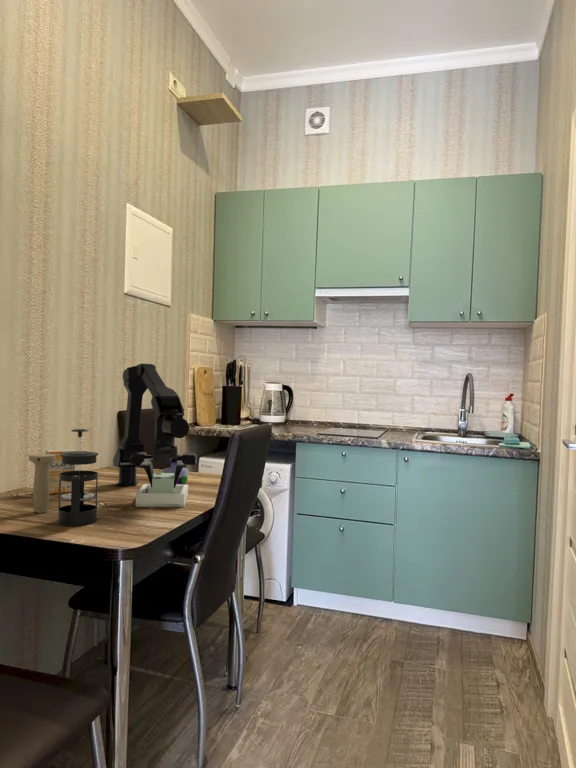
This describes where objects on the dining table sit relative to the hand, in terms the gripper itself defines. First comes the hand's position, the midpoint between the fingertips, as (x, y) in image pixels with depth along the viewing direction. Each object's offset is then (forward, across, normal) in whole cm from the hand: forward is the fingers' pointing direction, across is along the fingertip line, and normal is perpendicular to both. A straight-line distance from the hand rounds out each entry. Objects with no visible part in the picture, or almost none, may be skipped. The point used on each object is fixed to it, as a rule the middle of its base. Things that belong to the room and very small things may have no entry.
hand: (163, 487), depth 163 cm
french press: (+4, -18, -24) cm, 30 cm away
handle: (+4, -30, -14) cm, 33 cm away
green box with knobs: (+1, 0, 0) cm, 1 cm away
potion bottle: (+4, +2, +15) cm, 16 cm away
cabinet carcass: (+4, 0, 0) cm, 4 cm away
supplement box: (+4, -33, +12) cm, 35 cm away
